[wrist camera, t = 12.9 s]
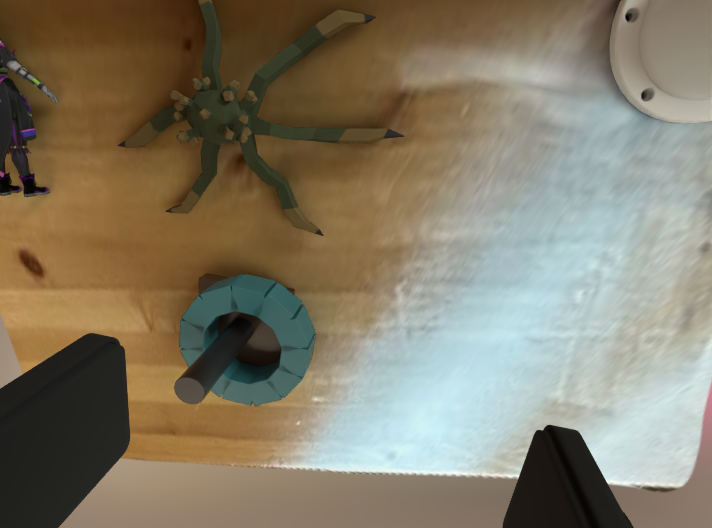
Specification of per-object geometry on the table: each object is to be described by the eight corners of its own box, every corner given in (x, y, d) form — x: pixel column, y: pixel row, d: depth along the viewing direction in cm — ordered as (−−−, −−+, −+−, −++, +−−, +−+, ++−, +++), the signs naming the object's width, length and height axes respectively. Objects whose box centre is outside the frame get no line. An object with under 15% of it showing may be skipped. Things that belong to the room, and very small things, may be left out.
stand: (294, 289, 39) (250, 350, 29) (287, 368, 42) (244, 450, 32) (206, 273, 40) (130, 326, 29) (204, 352, 43) (135, 427, 32)
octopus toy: (121, 198, 39) (42, 217, 30) (121, -54, 32) (19, -119, 24) (378, 256, 37) (368, 293, 29) (435, 5, 30) (443, -41, 22)
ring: (323, 291, 37) (315, 304, 35) (305, 397, 41) (297, 417, 39) (198, 263, 38) (181, 274, 35) (192, 370, 42) (177, 388, 39)
